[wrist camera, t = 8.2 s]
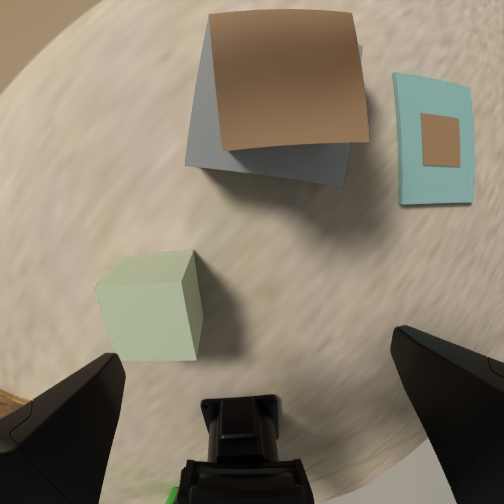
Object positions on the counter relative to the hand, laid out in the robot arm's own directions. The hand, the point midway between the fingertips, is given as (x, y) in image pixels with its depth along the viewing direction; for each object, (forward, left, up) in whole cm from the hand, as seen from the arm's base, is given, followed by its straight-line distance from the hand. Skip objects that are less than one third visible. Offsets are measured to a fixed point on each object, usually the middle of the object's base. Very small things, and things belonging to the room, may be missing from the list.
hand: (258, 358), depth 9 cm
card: (+6, -14, -11) cm, 19 cm away
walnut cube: (+9, -2, -8) cm, 12 cm away
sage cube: (-3, +6, -11) cm, 13 cm away
